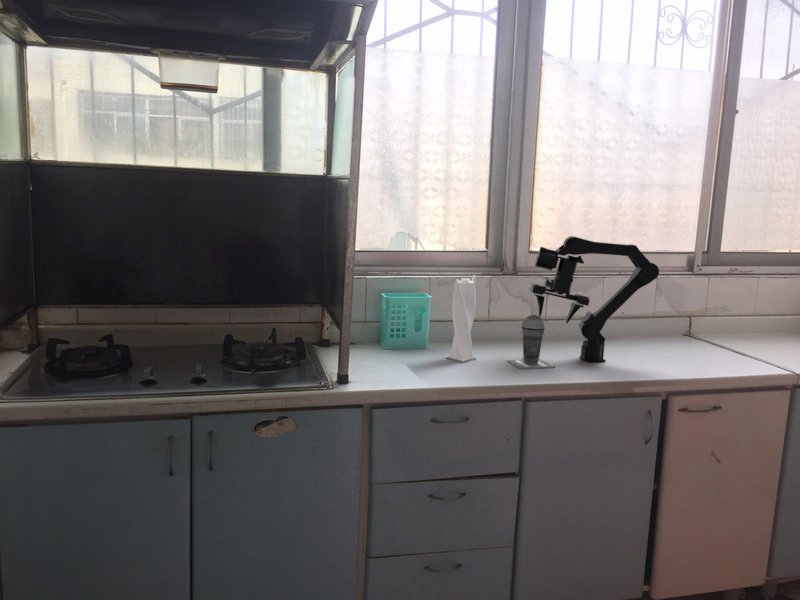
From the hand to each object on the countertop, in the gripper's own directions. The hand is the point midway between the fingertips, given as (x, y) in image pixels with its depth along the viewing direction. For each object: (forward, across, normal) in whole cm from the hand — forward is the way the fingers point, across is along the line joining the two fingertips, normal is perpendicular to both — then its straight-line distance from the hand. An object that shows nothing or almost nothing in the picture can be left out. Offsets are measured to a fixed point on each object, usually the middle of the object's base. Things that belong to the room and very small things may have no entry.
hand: (553, 319), depth 227 cm
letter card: (+15, +5, +10) cm, 18 cm away
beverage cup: (+14, +5, +10) cm, 18 cm away
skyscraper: (+19, +27, +7) cm, 34 cm away
